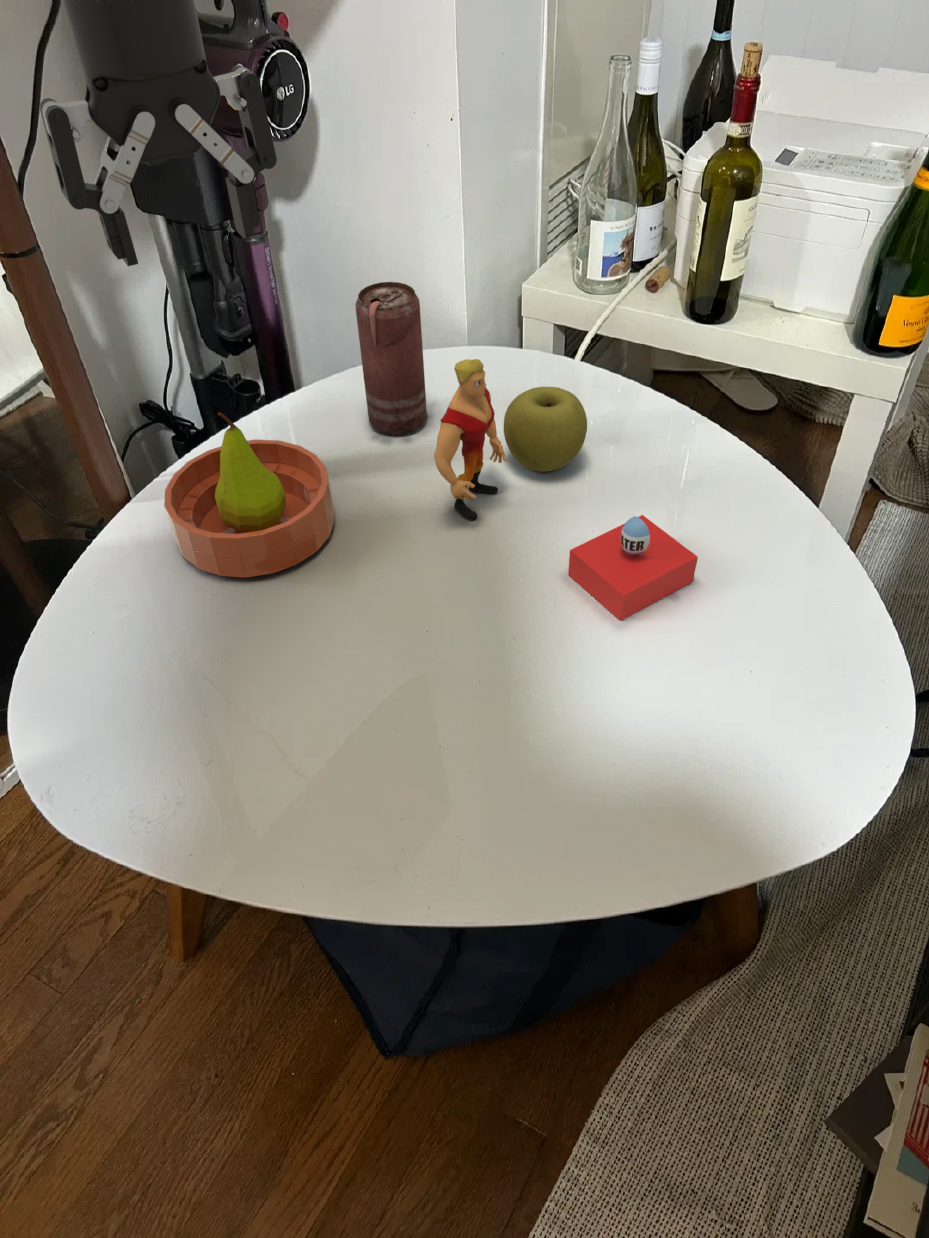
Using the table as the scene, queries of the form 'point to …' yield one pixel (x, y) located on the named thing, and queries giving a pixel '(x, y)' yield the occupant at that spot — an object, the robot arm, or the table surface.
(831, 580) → the table surface
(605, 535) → the red rectangular block
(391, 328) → the can
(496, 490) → the action figure
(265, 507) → the fruit
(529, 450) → the apple
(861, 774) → the table surface
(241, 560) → the bowl
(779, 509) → the table surface
